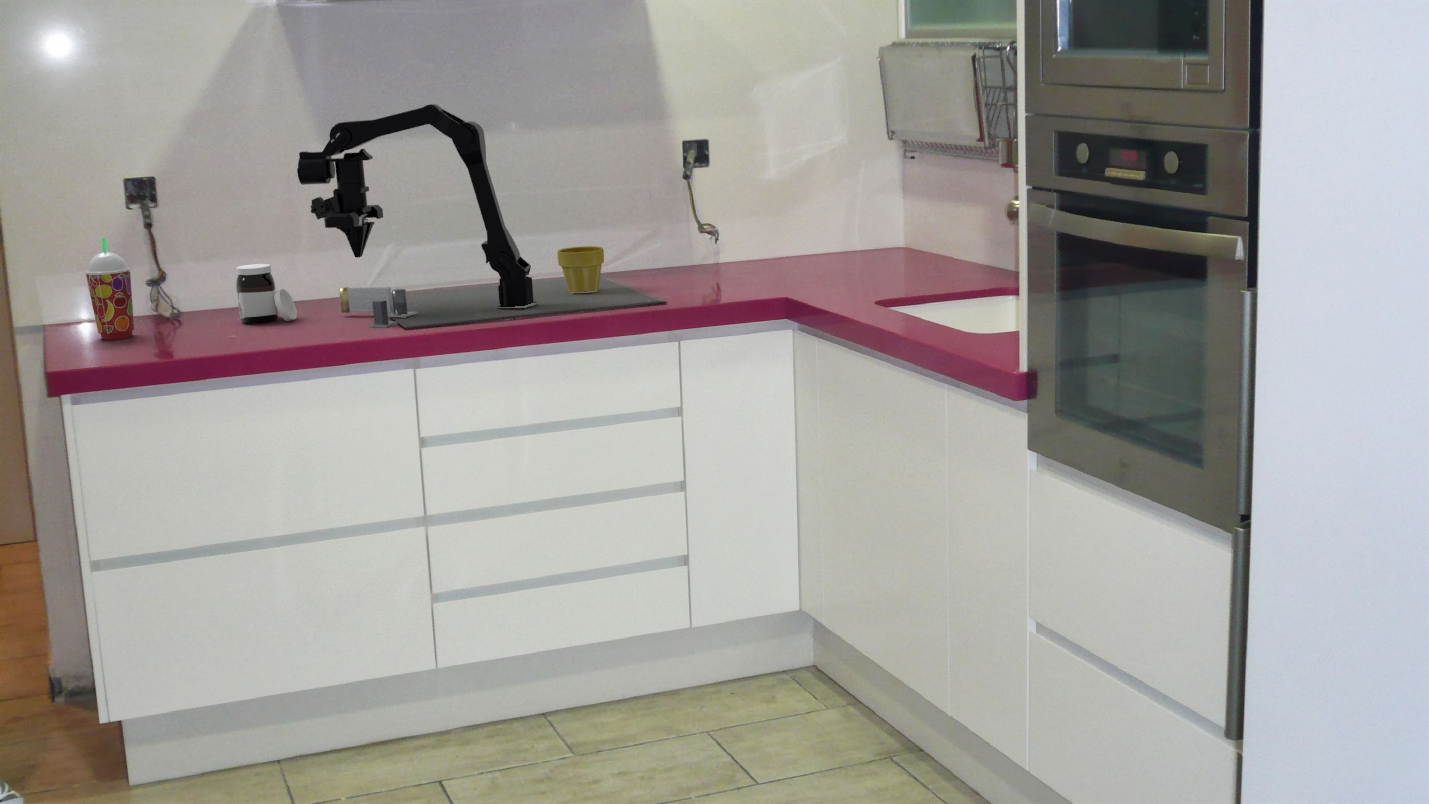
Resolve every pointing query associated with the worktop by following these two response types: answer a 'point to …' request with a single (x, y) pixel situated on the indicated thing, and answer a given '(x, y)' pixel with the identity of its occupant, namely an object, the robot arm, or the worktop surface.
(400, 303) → the hinge post
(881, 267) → the worktop surface
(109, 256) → the smoothie
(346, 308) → the gate
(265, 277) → the spread jar
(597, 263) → the plant pot
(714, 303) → the worktop surface
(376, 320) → the post
